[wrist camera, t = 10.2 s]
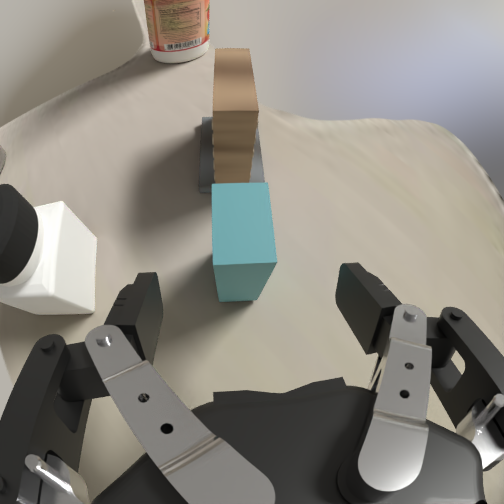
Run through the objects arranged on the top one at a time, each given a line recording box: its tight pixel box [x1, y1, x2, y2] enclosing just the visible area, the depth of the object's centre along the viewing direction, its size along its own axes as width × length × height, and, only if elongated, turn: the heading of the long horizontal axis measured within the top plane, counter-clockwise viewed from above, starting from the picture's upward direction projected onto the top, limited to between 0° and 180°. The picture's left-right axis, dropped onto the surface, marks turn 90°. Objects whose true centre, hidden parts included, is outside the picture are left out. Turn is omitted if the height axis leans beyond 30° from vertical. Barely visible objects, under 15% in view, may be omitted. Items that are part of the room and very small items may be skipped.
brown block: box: [199, 48, 265, 193], centre depth 23 cm, size 10×6×10 cm, turn 4°
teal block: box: [212, 183, 277, 302], centre depth 18 cm, size 4×3×10 cm, turn 4°
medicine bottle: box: [0, 184, 97, 315], centre depth 16 cm, size 7×7×12 cm
